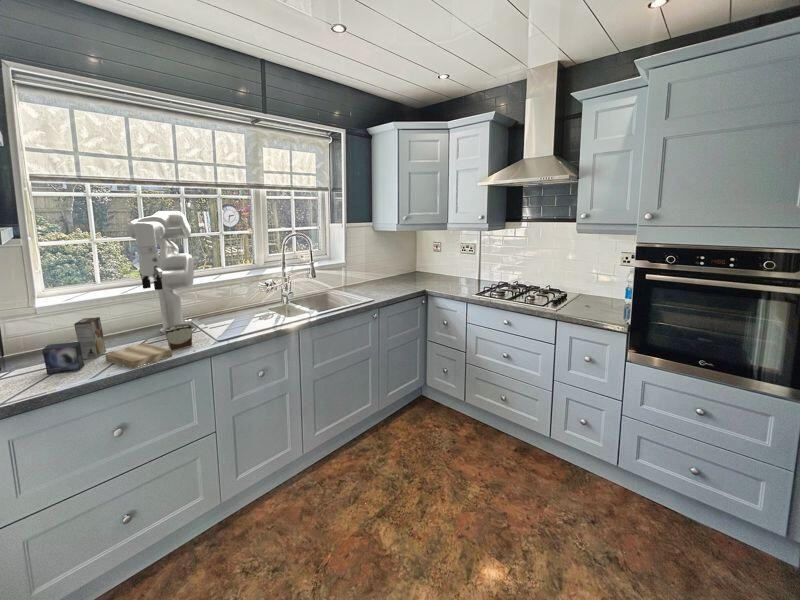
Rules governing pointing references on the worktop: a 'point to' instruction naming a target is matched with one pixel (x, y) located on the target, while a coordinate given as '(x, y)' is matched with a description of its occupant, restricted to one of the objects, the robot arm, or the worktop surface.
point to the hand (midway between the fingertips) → (152, 288)
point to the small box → (63, 357)
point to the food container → (179, 336)
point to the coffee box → (90, 337)
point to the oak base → (138, 355)
